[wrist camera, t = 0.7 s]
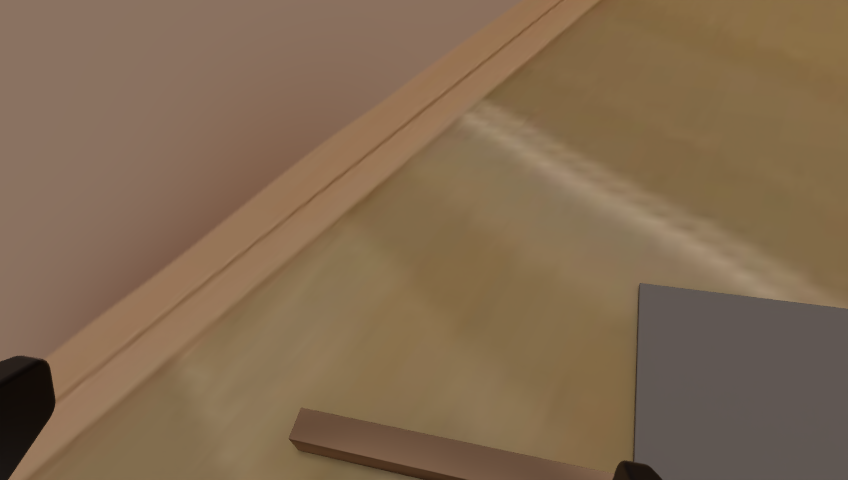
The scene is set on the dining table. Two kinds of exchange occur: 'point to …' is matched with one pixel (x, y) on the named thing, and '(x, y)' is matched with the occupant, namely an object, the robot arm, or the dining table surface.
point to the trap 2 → (740, 387)
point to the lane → (422, 452)
